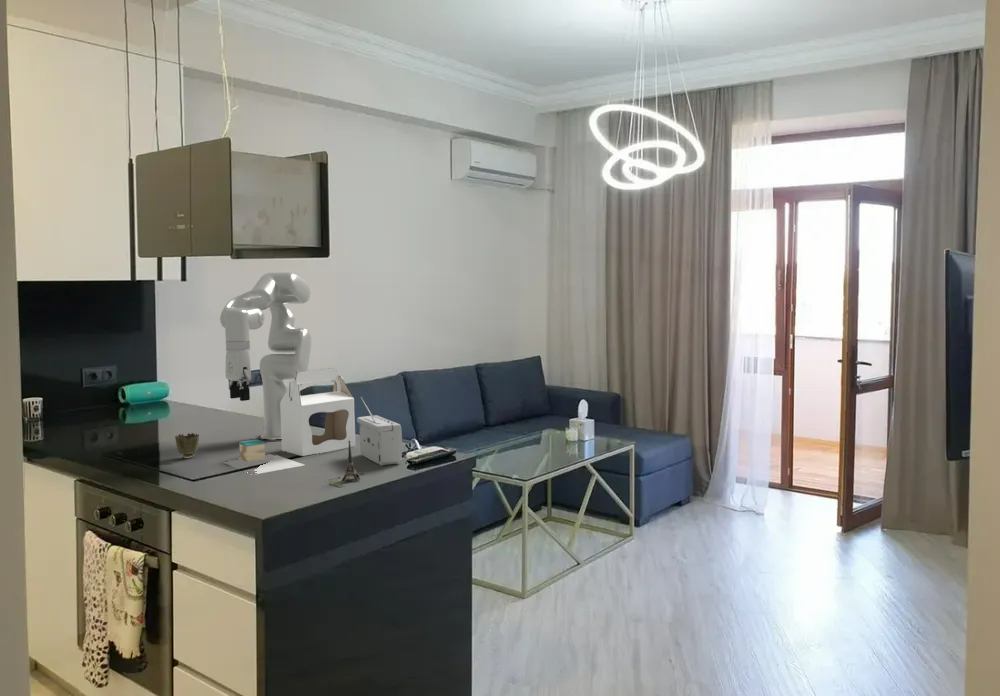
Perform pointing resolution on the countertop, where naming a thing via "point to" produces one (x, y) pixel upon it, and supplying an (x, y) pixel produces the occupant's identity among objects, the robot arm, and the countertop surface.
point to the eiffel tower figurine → (346, 474)
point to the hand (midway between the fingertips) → (239, 398)
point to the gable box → (302, 407)
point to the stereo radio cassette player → (380, 439)
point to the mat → (277, 465)
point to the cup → (187, 444)
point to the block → (252, 450)
